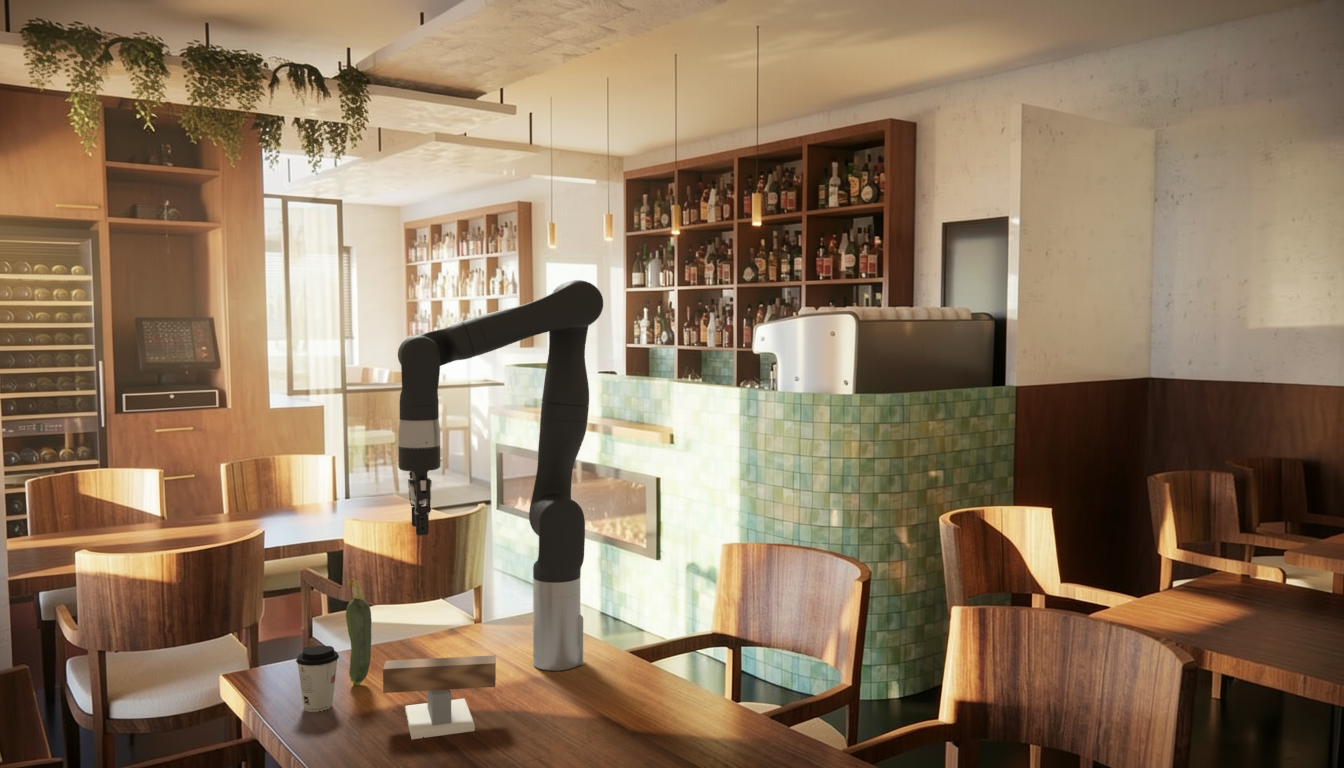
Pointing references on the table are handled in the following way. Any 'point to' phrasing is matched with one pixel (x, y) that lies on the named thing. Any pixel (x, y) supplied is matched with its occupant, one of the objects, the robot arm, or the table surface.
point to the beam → (439, 674)
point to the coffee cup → (317, 677)
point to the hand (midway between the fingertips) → (419, 530)
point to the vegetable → (359, 633)
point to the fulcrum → (439, 716)
